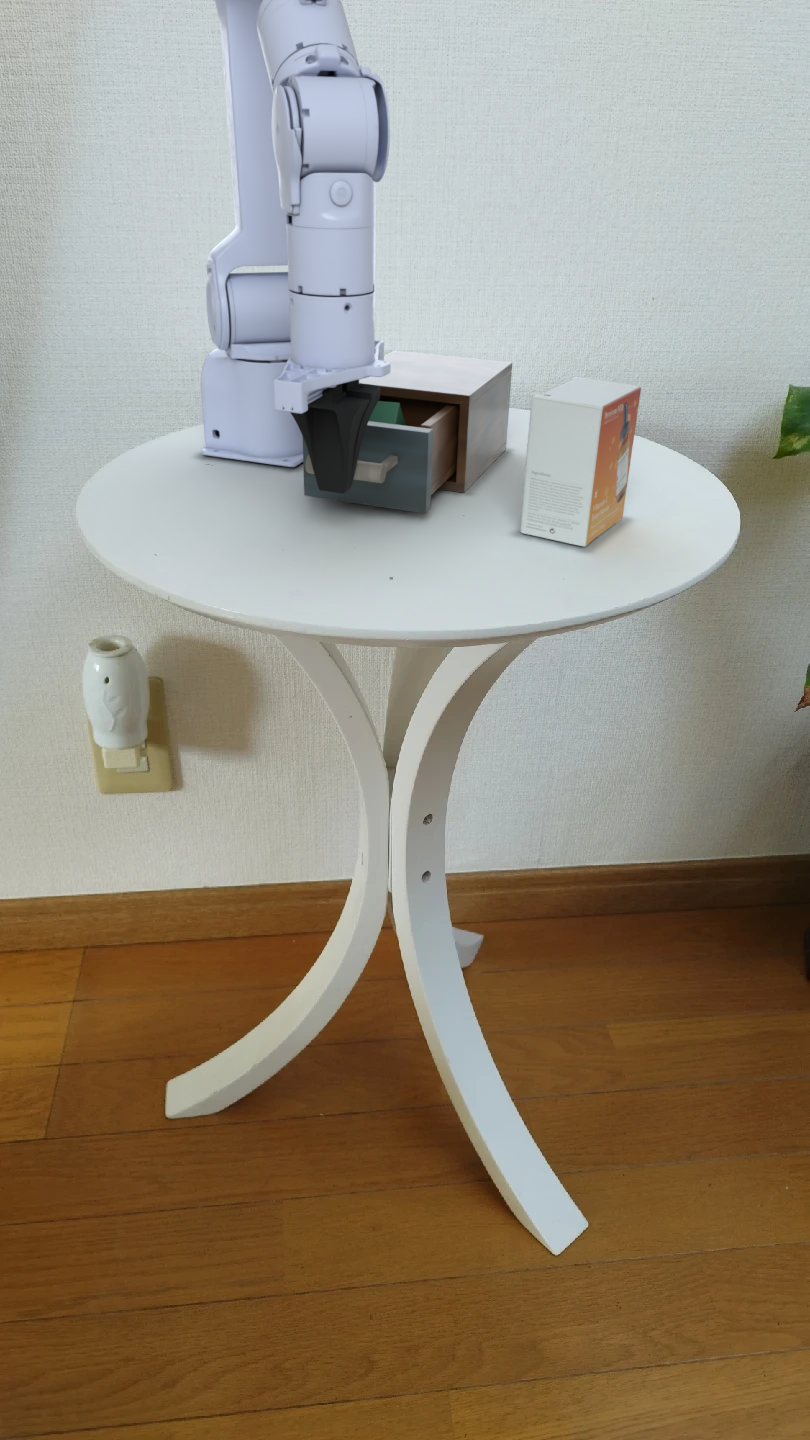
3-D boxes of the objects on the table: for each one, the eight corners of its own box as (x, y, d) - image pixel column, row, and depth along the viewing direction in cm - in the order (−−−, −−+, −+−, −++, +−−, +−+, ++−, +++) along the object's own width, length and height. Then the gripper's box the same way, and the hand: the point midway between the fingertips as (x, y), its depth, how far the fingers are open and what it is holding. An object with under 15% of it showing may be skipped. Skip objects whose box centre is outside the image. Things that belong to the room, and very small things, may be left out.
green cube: (335, 444, 80) (344, 398, 81) (347, 469, 84) (355, 425, 85) (391, 449, 79) (399, 402, 80) (399, 474, 84) (407, 430, 84)
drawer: (407, 532, 76) (409, 448, 72) (280, 512, 78) (277, 431, 75) (471, 468, 89) (476, 394, 86) (362, 453, 92) (362, 382, 89)
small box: (585, 550, 76) (602, 407, 70) (517, 534, 78) (529, 394, 73) (624, 519, 82) (644, 385, 76) (561, 505, 84) (575, 374, 79)
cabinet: (464, 493, 86) (469, 395, 82) (338, 475, 89) (337, 380, 85) (506, 449, 97) (512, 362, 93) (392, 435, 100) (394, 350, 96)
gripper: (345, 312, 60) (346, 529, 67) (424, 279, 72) (419, 467, 79) (238, 303, 62) (251, 515, 69) (333, 272, 74) (335, 456, 81)
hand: (334, 489), depth 74 cm, fingers closed
